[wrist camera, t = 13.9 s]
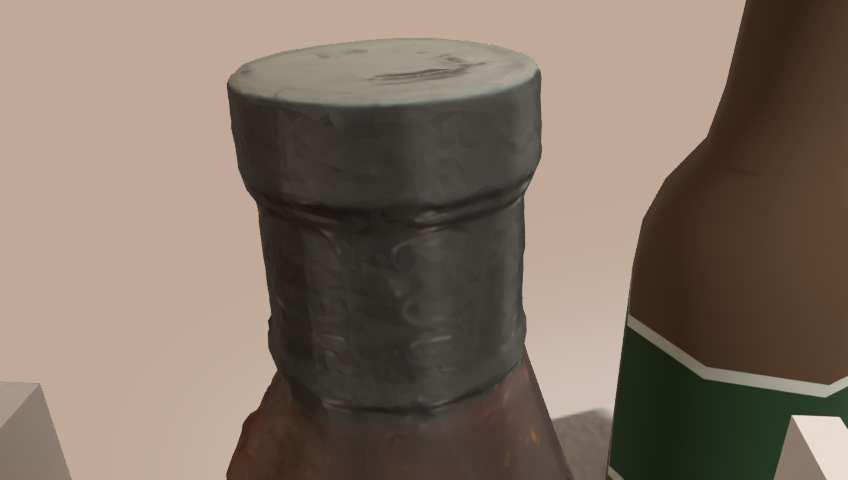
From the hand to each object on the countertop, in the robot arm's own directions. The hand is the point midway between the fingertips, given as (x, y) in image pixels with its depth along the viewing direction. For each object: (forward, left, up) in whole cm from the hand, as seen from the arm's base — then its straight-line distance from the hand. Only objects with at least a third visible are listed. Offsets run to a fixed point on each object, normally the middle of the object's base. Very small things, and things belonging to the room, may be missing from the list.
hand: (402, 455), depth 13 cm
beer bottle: (-12, -7, -14) cm, 19 cm away
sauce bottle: (0, +1, -13) cm, 13 cm away
